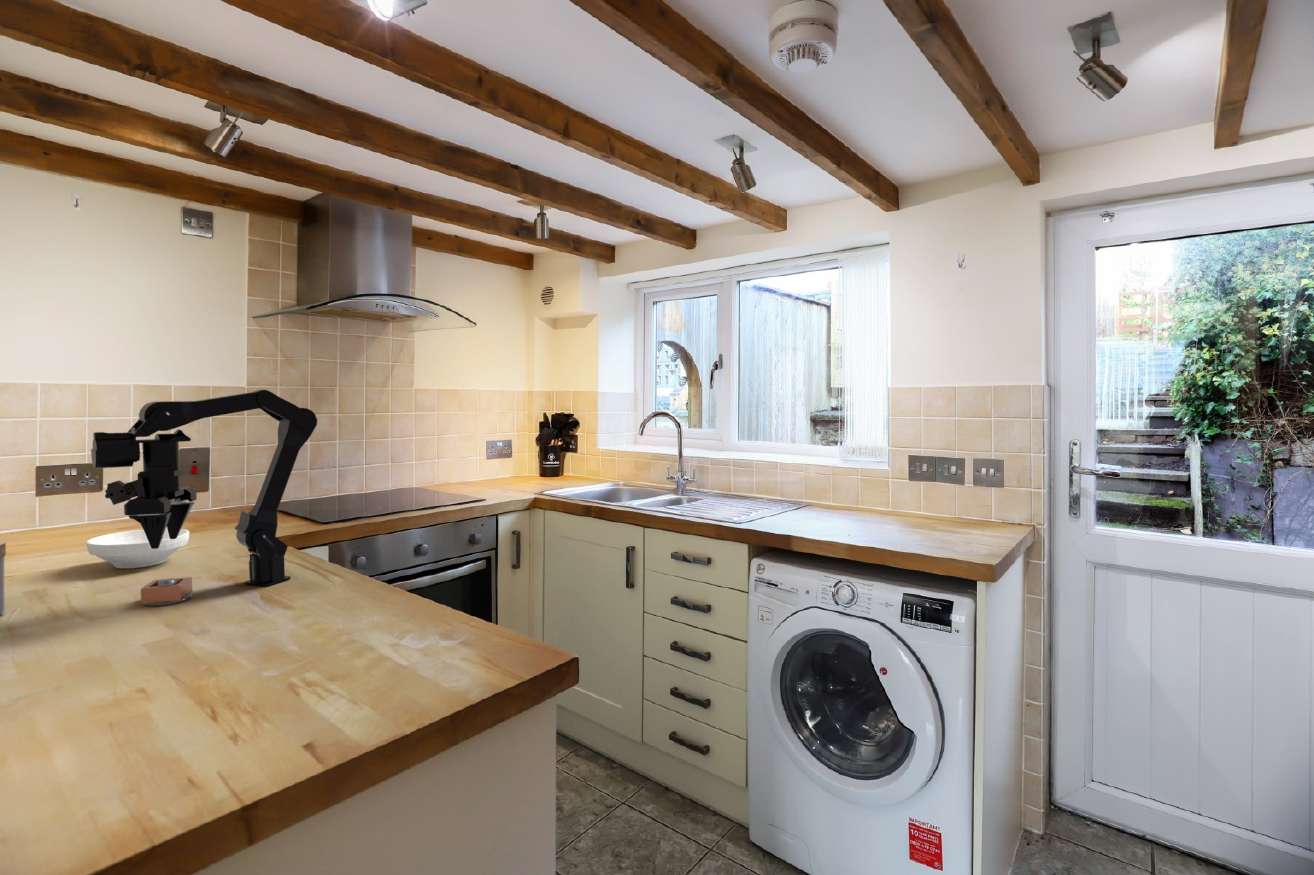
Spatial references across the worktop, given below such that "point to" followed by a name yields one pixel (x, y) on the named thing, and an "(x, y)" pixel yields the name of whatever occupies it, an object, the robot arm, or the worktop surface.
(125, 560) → the bowl
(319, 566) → the worktop surface
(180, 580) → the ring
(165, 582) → the disc with centre peg
